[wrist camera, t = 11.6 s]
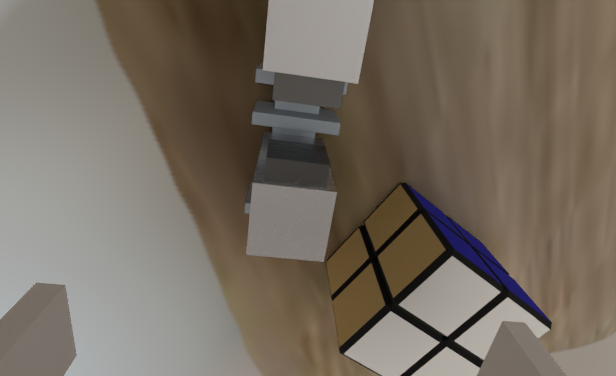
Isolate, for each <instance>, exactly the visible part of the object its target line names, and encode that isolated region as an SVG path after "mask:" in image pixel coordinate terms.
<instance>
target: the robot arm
mask: <svg viewBox="0 0 616 376" xmlns="http://www.w3.org/2000/svg"><path fill="white" fill-rule="evenodd" d="M75 357H76V350H75V343H74V337H73V332H72V325H71V318H70V312H69V306H68V299H67V293H66V288H65V285H57V284H45V283H36V284H35V285H34V286H33V287H32V288H31V289H30V290H29V291H28V292H27V293H26V294H25V295H24V296H23V297H22V298H21V299H20V300H19V301H18V302H17V303H16V304H15V305H14V306H13V307H12V308H11V309H10V310H9V311H8V312H7V313H6V314H5V315H4V316H3V317H2V318H1V320H0V376H64V374H65V373H66V371H67V369H68V368H69V366H70V365H71V363H72V361H73V360H74V359H75ZM477 376H566V374H565V373H564V372H563V371H562V369H561V368H560V367H559V366H558V364H557V363H556V362H555V361H554V359H553V358H552V357H551V355H550V354H549V353H548V351H547V350H546V349H545V347H544V346H543V345H542V344H541V342H540V341H539V340H538V338H537V337H536V336H535V335H534V333H533V332H532V331H531V329H530V328H529V327H528V326H527V324H526V323H524V322H511V321H502V323H501V325H500V327H499V329H498V332H497V334H496V336H495V338H494V340H493V342H492V344H491V346H490V349H489V351H488V353H487V355H486V357H485V359H484V361H483V363H482V365H481V368H480V370H479V372H478V374H477Z"/></svg>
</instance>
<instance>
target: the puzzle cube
mask: <svg viewBox="0 0 616 376" xmlns="http://www.w3.org/2000/svg"><path fill="white" fill-rule="evenodd" d="M326 266H327V272H328V279H329V285H330V292H331V298H332V302H333V310H334V317H335V324H336V330H337V337H338V344H339V351H340V353H341V354H343V355H344V356H346V357H348V358H350V359H351V360H353V361H355V362H357V363H359V364H360V365H362V366H364V367H366V368H367V369H369V370H371V371H373V372H374V373H376V374H378V375H380V376H477V374H478V372H479V370H480V368H481V365H482V363H483V361H484V359H485V357H486V355H487V353H488V351H489V349H490V346H491V344H492V342H493V340H494V338H495V336H496V334H497V332H498V329H499V327H500V325H501V323H502V321H511V322H524V323H526V324H527V326H528V327H529V328H530V329H531V331H532V332H533V333H534V335H535V336H536V337H537V338H538V339H539V338H540V337H541V336H543V335H544V334H545V333H547V332H548V331H549V330H551V324H552V322H551V321H550V320H549V319H548V318H547V317H546V316H545V314H544V313H543V312H542V311H541V310H540V309H539V308H538V306H537V305H536V304H535V303H534V302H533V301H532V300H531V299H530V297H529V296H528V295H527V294H526V293H525V292H524V291H523V289H522V288H521V287H520V286H519V285H518V284H517V283H516V281H515V280H514V279H513V278H511V277H510V276H509V273H508V272H507V271H506V270H505V269H504V268H503V267H502V265H501V264H500V263H499V262H498V261H497V260H496V259H495V258H494V256H493V255H492V254H491V253H490V252H489V251H488V250H487V248H486V247H485V246H484V245H483V244H482V243H481V242H480V241H479V240H477V239H476V238H475V237H474V236H472V235H471V234H470V233H468V232H467V231H466V230H465V229H463V228H462V227H461V226H460V225H458V224H457V223H456V222H454V221H453V220H452V219H451V218H449V217H448V216H447V217H446V216H445V214H444V213H443V212H442V211H440V210H439V209H438V208H437V207H435V206H434V205H433V204H432V203H430V202H429V201H428V200H426V199H425V198H424V197H423V196H421V195H420V194H419V193H418V192H416V191H415V190H414V189H412V188H411V187H410V186H409V185H407V184H406V183H404V184H400V185H399V186H398V187H397V188H396V189H395V190H394V191H393V192H392V193H391V194H390V195H389V196H388V198H387V199H386V200H385V201H384V202H383V203H382V204H381V205H380V206H379V207H378V208H377V209H376V210H375V211H374V212H373V213H372V214H371V216H370V217H369V218H368V219H367V220H366V221H365V222H364V227H360V228H358V229H357V230H356V231H355V232H354V233H353V234H352V235H351V236H350V238H349V239H348V240H347V241H346V242H345V243H344V244H343V245H342V246H341V247H340V248H339V249H338V250H337V251H336V252H335V253H334V254H333V255H332V257H331V258H330V259H329V260H328V261H327V262H326Z"/></svg>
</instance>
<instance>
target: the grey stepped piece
mask: <svg viewBox="0 0 616 376" xmlns="http://www.w3.org/2000/svg"><path fill="white" fill-rule="evenodd" d="M373 3H374V0H269V3H268V14H267V26H266V37H265V48H264V59H263V63H260V64H259V66H258V67H257V68H256V78H255V82H257V83H264V84H271V85H274V86H273V96H272V100H275V103H274V102H267V101H259V100H258V101H257V103H256V105H255V108H254V110H253V114H252V124H254V125H261V126H269V127H273V129H272V132H275V133H283V134H291V135H299V136H307V137H315V135H316V133H324V134H332V135H339V130H340V125H341V123H340V121H339V119H338V117H337V115H336V113H335V111H334V110H326V109H320V106H321V107H328V108H336V109H341V103H342V97H343V95H346V92H347V86H348V82H349V83H356V84H358V81H359V76H360V71H361V66H362V61H363V55H364V50H365V45H366V40H367V35H368V29H369V24H370V19H371V14H372V9H373ZM252 183H253V182H250V186H249V190H248V194H247V198H246V202H245V211H244V213H247V214H250V205H251V194H252Z"/></svg>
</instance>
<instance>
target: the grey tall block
mask: <svg viewBox="0 0 616 376" xmlns="http://www.w3.org/2000/svg"><path fill="white" fill-rule="evenodd" d="M336 196H337V190H336V186H335V183H334V179H333V176H332V172H331V168H330V162H329V159H328V155H327V152H326V148H325V146H324V143H323V140H322V138H315V137H307V136H299V135H291V134H283V133H275V132H267V131H265V133H264V137H263V141H262V145H261V149H260V153H259V158H258V162H257V166H256V170H255V174H254V178H253V183H252V194H251V205H250V217H249V228H248V240H247V251H246V255H255V256H265V257H276V258H287V259H298V260H309V261H320V262H324V258H325V253H326V248H327V243H328V237H329V232H330V227H331V222H332V217H333V211H334V206H335V201H336Z"/></svg>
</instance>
